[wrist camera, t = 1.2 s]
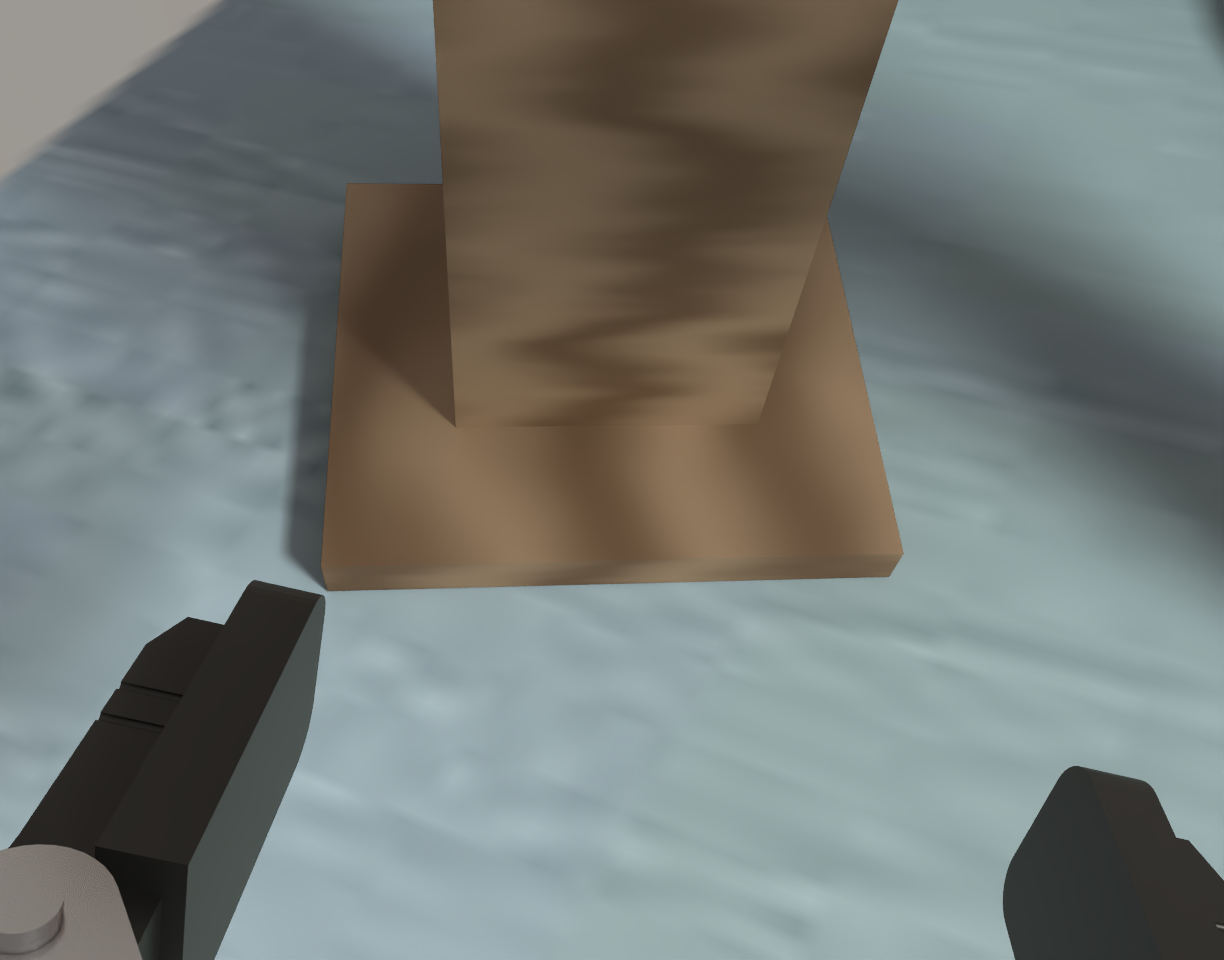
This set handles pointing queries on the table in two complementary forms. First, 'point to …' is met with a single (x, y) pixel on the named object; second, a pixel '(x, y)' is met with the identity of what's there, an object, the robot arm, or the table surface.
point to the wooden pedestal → (612, 309)
